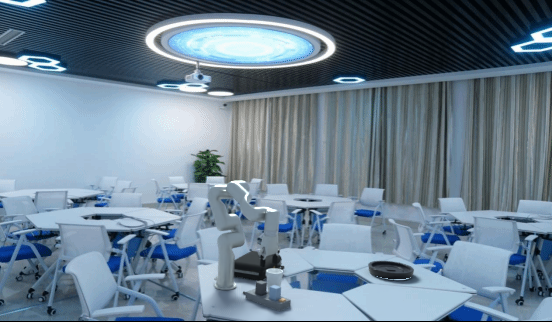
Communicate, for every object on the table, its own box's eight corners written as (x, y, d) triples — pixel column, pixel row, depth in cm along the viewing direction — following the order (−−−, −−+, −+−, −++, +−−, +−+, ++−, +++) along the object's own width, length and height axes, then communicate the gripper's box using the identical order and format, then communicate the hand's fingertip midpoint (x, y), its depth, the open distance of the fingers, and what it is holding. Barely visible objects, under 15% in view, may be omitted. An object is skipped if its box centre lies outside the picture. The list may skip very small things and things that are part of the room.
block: (269, 301, 203) (269, 286, 203) (273, 299, 206) (274, 284, 206) (275, 304, 201) (276, 288, 200) (280, 302, 204) (281, 287, 203)
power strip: (237, 295, 215) (238, 278, 215) (249, 291, 222) (249, 274, 222) (279, 311, 196) (280, 292, 195) (290, 306, 202) (291, 288, 202)
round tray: (419, 283, 251) (405, 269, 281) (420, 273, 251) (406, 261, 281) (373, 280, 252) (364, 267, 282) (373, 271, 252) (364, 259, 282)
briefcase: (272, 284, 236) (273, 268, 236) (226, 277, 247) (226, 261, 246) (291, 269, 270) (291, 254, 270) (249, 263, 281) (250, 249, 280)
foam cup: (271, 298, 213) (272, 274, 213) (262, 292, 221) (263, 269, 220) (285, 294, 219) (286, 271, 219) (275, 289, 226) (276, 267, 226)
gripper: (276, 229, 214) (273, 260, 215) (254, 233, 201) (252, 266, 202) (286, 232, 209) (284, 263, 210) (265, 236, 196) (263, 270, 197)
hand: (268, 264), depth 206 cm, fingers open, 9 cm apart
